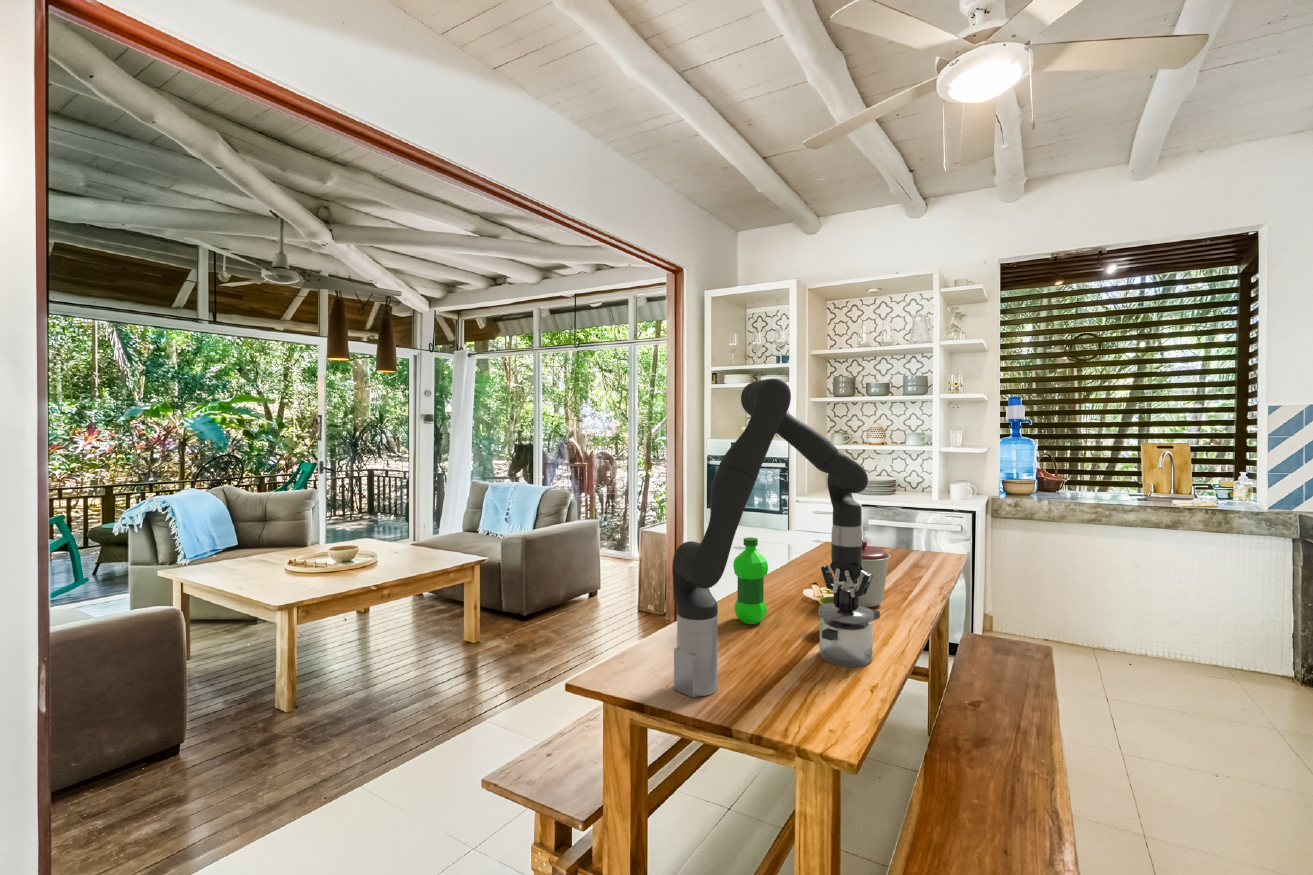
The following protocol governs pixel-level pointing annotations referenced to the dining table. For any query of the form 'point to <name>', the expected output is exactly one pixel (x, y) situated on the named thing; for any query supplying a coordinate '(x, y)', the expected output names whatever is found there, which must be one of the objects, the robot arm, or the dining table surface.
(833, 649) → the cooker pot
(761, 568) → the plastic bottle
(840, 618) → the lid
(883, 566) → the canister
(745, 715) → the dining table surface
